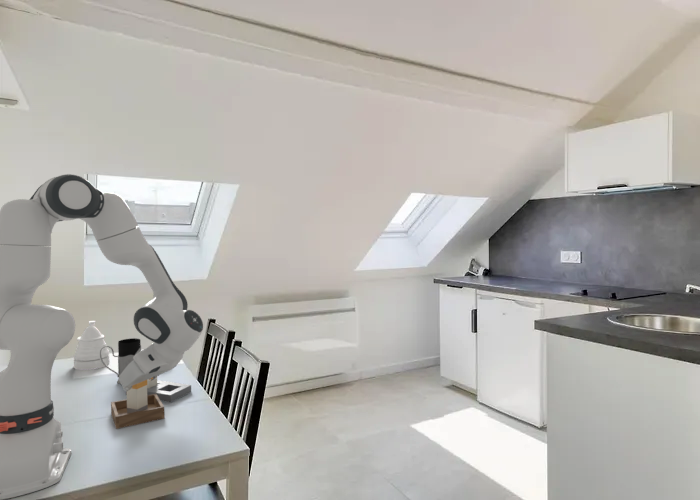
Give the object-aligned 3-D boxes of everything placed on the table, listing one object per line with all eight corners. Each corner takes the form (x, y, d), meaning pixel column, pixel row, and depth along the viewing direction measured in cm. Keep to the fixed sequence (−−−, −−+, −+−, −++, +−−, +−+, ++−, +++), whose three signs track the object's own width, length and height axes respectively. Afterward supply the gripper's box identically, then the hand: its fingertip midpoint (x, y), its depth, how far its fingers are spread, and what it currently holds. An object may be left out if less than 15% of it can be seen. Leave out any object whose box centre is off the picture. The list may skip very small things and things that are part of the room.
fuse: (157, 390, 158) (156, 357, 158) (148, 394, 154) (148, 360, 154) (148, 389, 159) (147, 356, 159) (139, 393, 156) (138, 359, 155)
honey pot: (78, 362, 192) (77, 320, 191) (112, 359, 196) (111, 318, 195) (70, 371, 180) (68, 326, 179) (106, 368, 184) (104, 324, 183)
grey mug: (142, 382, 167) (141, 342, 166) (98, 387, 161) (97, 346, 161) (143, 375, 175) (142, 337, 174) (102, 379, 169) (101, 340, 169)
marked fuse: (147, 411, 138) (147, 372, 138) (137, 416, 134) (136, 376, 134) (137, 409, 140) (136, 371, 139) (126, 414, 136) (125, 375, 135)
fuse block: (191, 392, 157) (191, 385, 157) (170, 402, 147) (170, 395, 147) (148, 385, 163) (148, 378, 163) (125, 395, 154) (125, 388, 154)
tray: (164, 418, 135) (164, 406, 135) (116, 428, 128) (115, 416, 128) (156, 404, 146) (156, 393, 146) (111, 413, 139) (110, 402, 139)
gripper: (181, 338, 143) (157, 365, 147) (130, 355, 124) (104, 386, 127) (193, 353, 142) (169, 381, 145) (143, 373, 122) (116, 403, 126)
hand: (138, 383), depth 136 cm, fingers open, 8 cm apart
